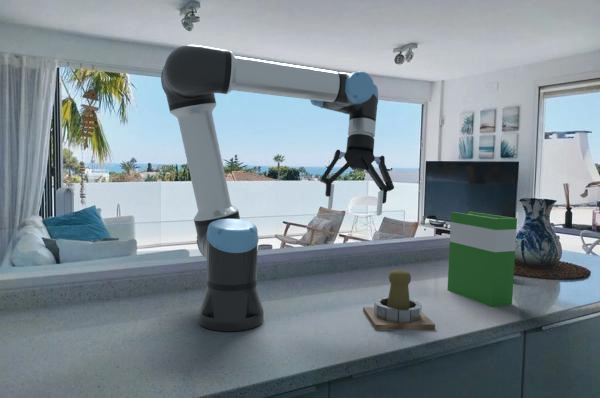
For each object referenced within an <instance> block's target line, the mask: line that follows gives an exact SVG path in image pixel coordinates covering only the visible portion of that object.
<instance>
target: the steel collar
mask: <svg viewBox="0 0 600 398" xmlns="http://www.w3.org/2000/svg"><path fill="white" fill-rule="evenodd" d="M388 297H389V296H383V297H378V298H376V300H374V306H373V307H374V314H375V315H376V317H377V318H380V319H382V320H385V321H389V322H395V323H412V322H416V321H419V320H420V318H421V312H423V310H422V309H423V307H422V306H423V305H422V303H421V302H419V301H418V300H415V299H412V298H409V300H410V308H409V309H397V308H391V307H387V303H388Z"/></svg>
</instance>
